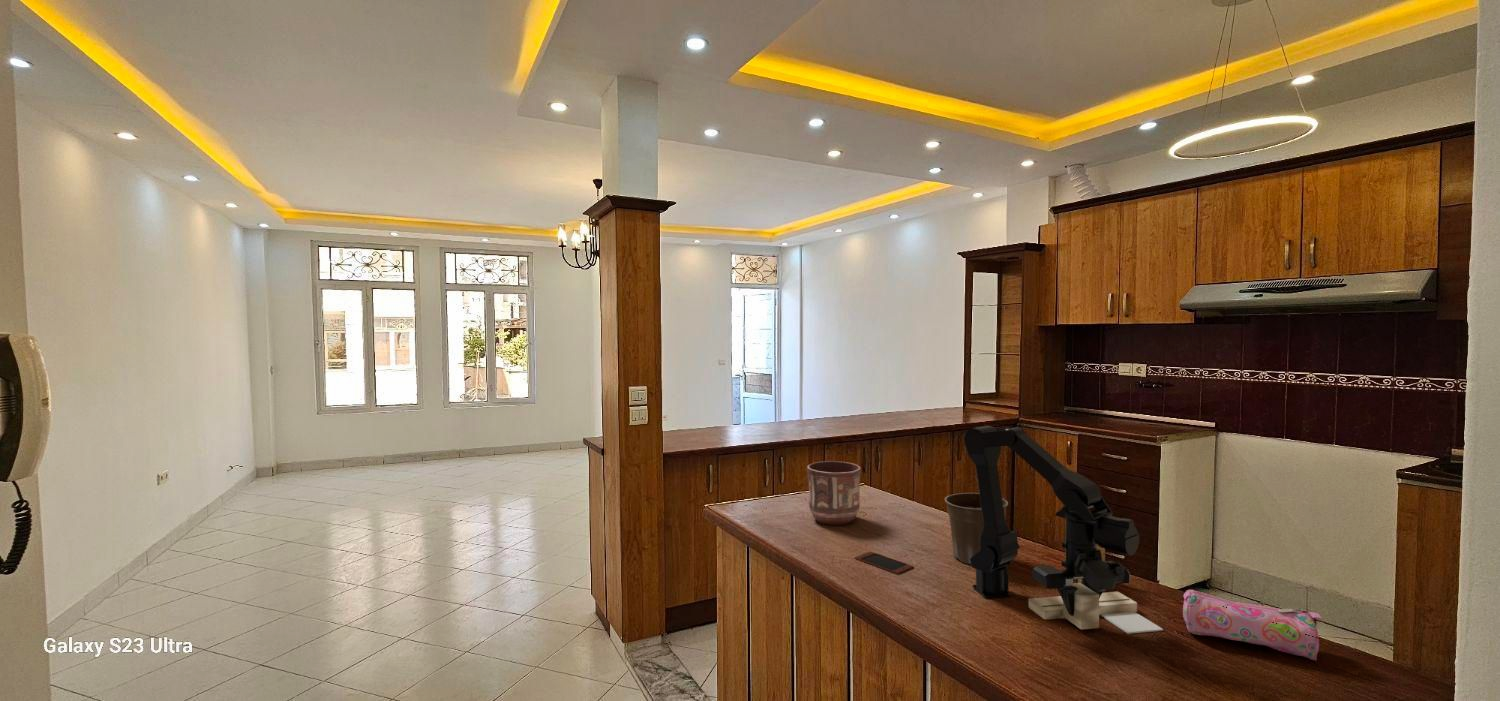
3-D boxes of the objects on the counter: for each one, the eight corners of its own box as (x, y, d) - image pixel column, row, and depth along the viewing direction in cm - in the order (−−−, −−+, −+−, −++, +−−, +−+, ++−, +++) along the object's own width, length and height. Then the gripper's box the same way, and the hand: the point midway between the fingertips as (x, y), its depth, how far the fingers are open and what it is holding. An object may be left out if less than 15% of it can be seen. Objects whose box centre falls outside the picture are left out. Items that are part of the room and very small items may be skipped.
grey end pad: (1127, 633, 128) (1127, 632, 128) (1101, 615, 136) (1101, 614, 136) (1163, 630, 129) (1163, 629, 129) (1134, 613, 137) (1134, 611, 137)
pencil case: (1315, 648, 122) (1316, 602, 121) (1325, 670, 114) (1326, 621, 114) (1182, 621, 133) (1182, 580, 133) (1183, 640, 126) (1183, 595, 126)
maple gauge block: (1081, 629, 129) (1081, 596, 128) (1062, 616, 135) (1062, 584, 134) (1099, 627, 129) (1099, 594, 129) (1080, 614, 135) (1080, 582, 135)
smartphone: (897, 572, 161) (853, 557, 172) (897, 576, 161) (853, 560, 172) (914, 565, 165) (870, 550, 177) (914, 569, 165) (870, 554, 177)
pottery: (805, 527, 200) (804, 471, 199) (809, 511, 217) (808, 460, 217) (861, 530, 197) (861, 473, 196) (860, 513, 214) (860, 461, 214)
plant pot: (942, 565, 167) (942, 505, 166) (947, 545, 182) (947, 490, 181) (1008, 573, 161) (1008, 511, 160) (1008, 551, 176) (1007, 495, 175)
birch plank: (1044, 619, 135) (1044, 610, 135) (1028, 607, 141) (1028, 598, 141) (1137, 611, 138) (1137, 602, 138) (1117, 600, 144) (1117, 591, 144)
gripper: (1063, 558, 122) (1063, 636, 123) (1150, 552, 124) (1149, 629, 125) (1030, 539, 133) (1030, 611, 134) (1111, 533, 135) (1110, 604, 136)
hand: (1080, 614), depth 132 cm, fingers closed on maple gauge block, 4 cm apart
